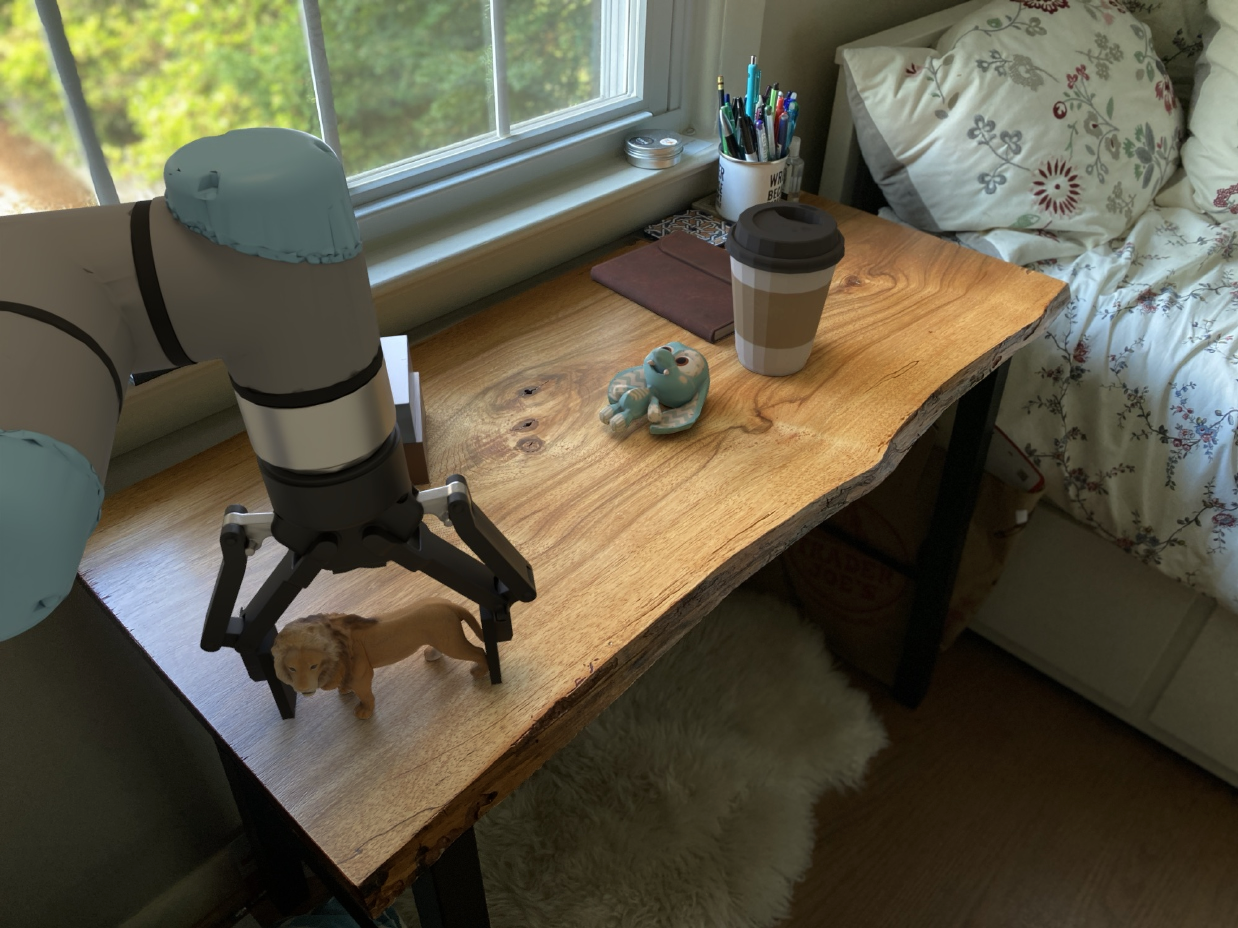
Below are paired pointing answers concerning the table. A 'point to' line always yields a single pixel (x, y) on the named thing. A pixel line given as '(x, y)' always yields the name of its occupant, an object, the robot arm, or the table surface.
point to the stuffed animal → (659, 390)
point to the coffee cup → (780, 282)
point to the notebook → (677, 282)
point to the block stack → (408, 406)
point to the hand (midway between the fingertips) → (394, 685)
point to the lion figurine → (371, 647)
